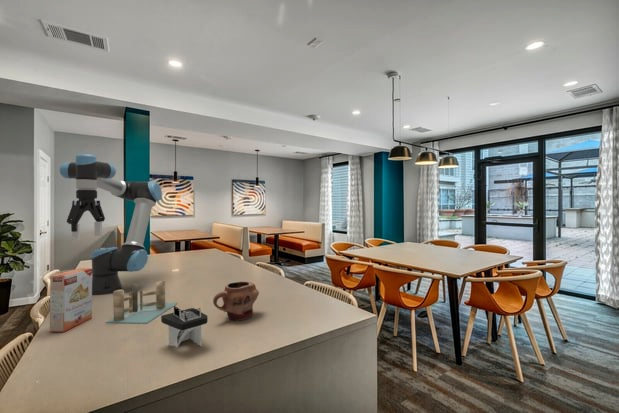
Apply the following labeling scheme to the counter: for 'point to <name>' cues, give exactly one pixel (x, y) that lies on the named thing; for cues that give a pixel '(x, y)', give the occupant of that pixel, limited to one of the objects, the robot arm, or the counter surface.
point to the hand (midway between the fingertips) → (87, 237)
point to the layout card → (143, 314)
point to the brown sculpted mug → (238, 300)
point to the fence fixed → (119, 302)
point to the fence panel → (159, 296)
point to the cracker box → (70, 299)
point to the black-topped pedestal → (184, 325)
